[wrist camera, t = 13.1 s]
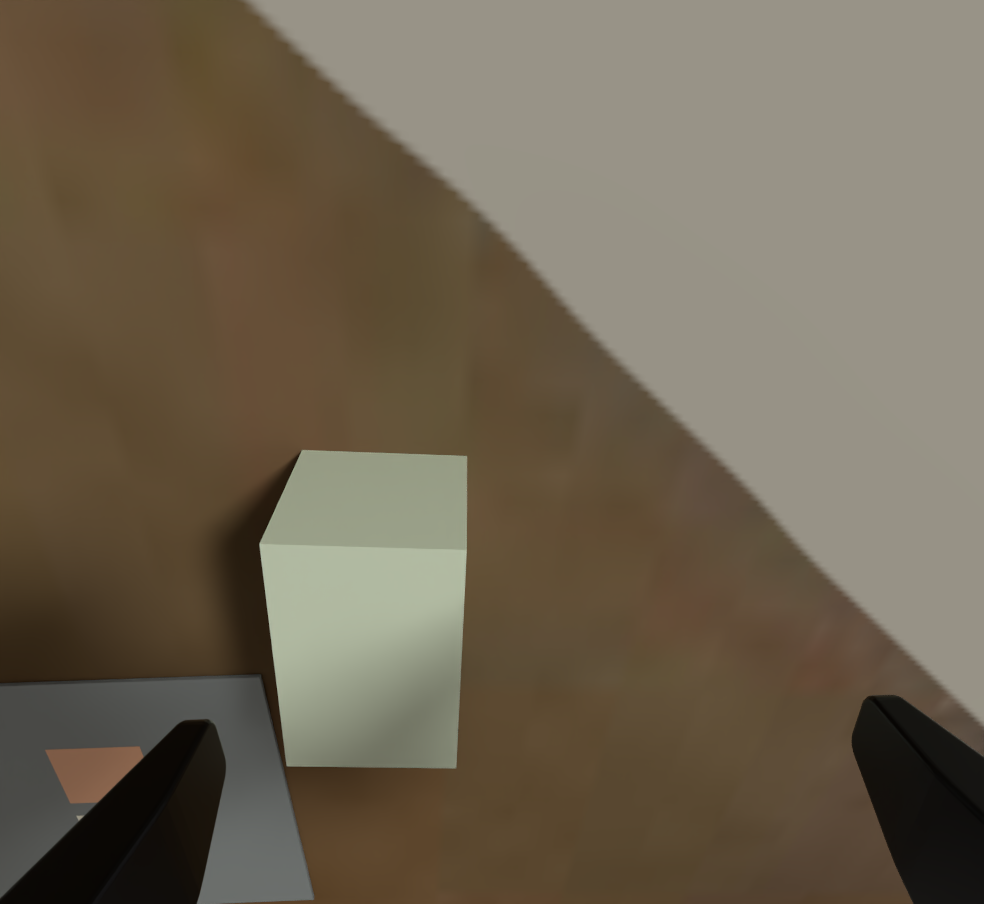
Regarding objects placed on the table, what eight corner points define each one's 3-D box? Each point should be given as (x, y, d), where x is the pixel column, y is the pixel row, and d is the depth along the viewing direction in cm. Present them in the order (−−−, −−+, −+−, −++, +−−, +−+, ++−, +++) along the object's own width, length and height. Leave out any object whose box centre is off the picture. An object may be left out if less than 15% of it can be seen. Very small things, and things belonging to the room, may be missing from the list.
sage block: (467, 453, 21) (466, 549, 17) (458, 648, 25) (455, 768, 21) (303, 447, 21) (258, 544, 17) (319, 645, 25) (286, 766, 20)
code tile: (261, 673, 25) (259, 677, 25) (314, 894, 32) (313, 899, 32) (-128, 686, 25) (-132, 691, 25) (7, 907, 32) (4, 912, 32)
